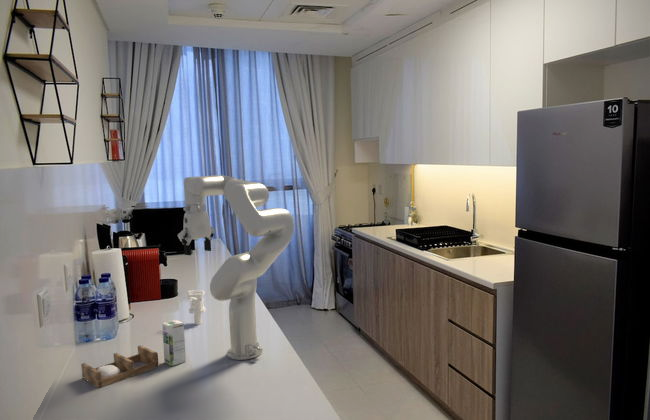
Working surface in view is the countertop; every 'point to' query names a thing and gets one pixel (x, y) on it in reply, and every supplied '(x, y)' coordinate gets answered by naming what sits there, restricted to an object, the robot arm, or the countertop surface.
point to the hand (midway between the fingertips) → (198, 252)
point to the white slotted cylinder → (196, 305)
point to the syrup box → (174, 342)
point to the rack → (122, 367)
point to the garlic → (108, 371)
